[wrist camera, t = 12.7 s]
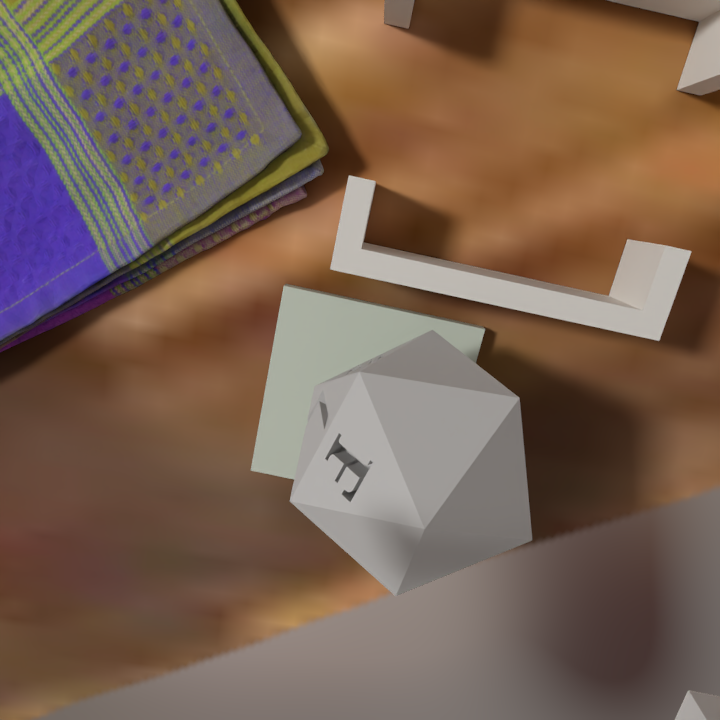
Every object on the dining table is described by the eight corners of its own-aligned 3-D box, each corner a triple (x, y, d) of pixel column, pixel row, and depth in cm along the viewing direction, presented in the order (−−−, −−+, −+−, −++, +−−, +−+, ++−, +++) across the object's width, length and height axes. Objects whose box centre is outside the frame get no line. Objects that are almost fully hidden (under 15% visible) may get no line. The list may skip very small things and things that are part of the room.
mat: (285, 283, 26) (283, 285, 26) (483, 326, 26) (485, 329, 26) (253, 464, 29) (250, 470, 28) (434, 502, 29) (435, 508, 28)
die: (364, 283, 26) (355, 335, 16) (542, 375, 26) (636, 477, 17) (281, 444, 28) (228, 576, 18) (448, 524, 28) (483, 692, 19)
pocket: (404, -78, 22) (408, -127, 19) (733, -1, 23) (795, -36, 19) (336, 260, 26) (330, 269, 23) (623, 322, 26) (659, 340, 23)
